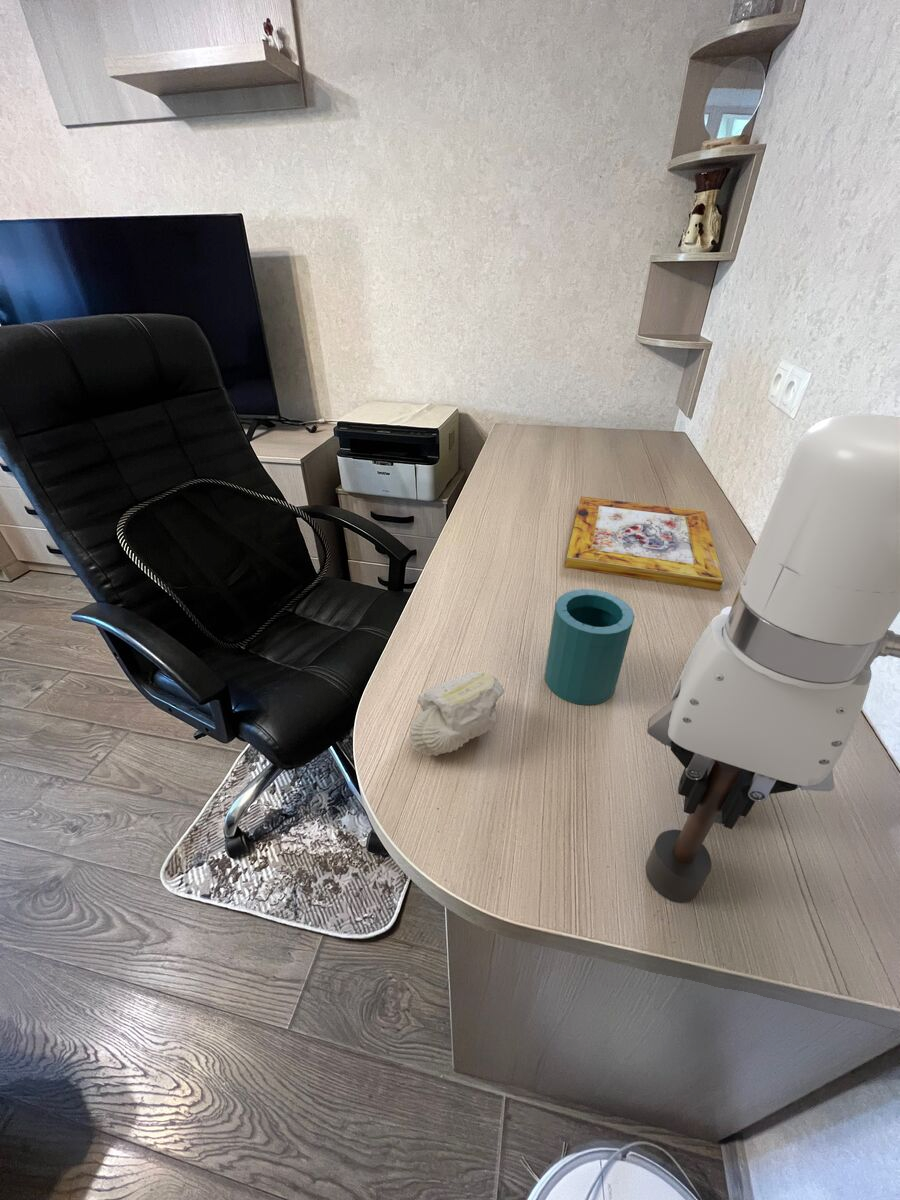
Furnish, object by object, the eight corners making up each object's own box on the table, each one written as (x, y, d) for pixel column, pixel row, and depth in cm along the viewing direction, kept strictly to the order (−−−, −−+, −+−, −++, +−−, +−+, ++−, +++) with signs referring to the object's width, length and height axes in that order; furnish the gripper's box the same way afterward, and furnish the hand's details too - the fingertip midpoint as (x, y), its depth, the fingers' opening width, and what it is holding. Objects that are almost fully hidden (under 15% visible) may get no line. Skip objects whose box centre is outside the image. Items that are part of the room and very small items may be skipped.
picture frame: (705, 511, 111) (723, 580, 87) (702, 520, 112) (719, 590, 88) (580, 496, 117) (566, 557, 94) (579, 504, 118) (565, 567, 95)
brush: (700, 863, 49) (763, 750, 39) (697, 912, 45) (766, 800, 35) (648, 843, 50) (696, 730, 41) (642, 888, 47) (693, 776, 37)
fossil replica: (392, 749, 60) (465, 789, 56) (389, 707, 54) (470, 748, 51) (442, 682, 68) (509, 714, 65) (444, 639, 63) (517, 671, 59)
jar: (620, 668, 72) (639, 599, 65) (608, 714, 64) (627, 642, 58) (555, 650, 75) (565, 582, 68) (536, 691, 68) (546, 621, 61)
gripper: (939, 630, 31) (813, 805, 41) (665, 572, 36) (616, 740, 47) (985, 713, 25) (827, 892, 36) (653, 630, 31) (600, 806, 41)
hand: (708, 804), depth 41 cm, fingers closed
